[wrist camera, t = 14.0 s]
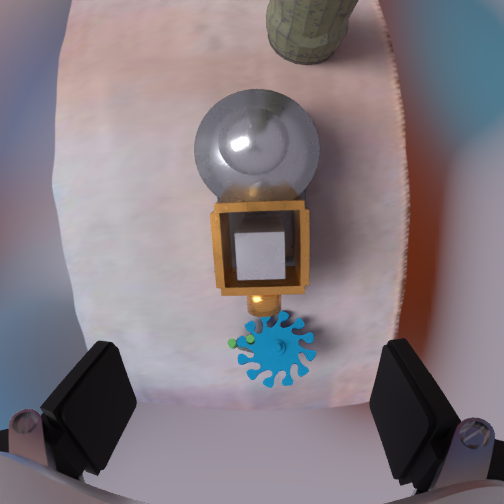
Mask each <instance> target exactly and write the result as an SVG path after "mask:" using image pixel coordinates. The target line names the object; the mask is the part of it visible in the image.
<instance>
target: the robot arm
mask: <svg viewBox="0 0 504 504" xmlns="http://www.w3.org/2000/svg"><path fill="white" fill-rule="evenodd" d="M136 404H137V401H136V397H135V394H134V392H133V389H132V387H131V384H130V381H129V378H128V376H127V373H126V370H125V367H124V364H123V361H122V358H121V355H120V352H119V349H118V348H117V347H116V346H115V345H114V344H113V343H112V342H107V341H97V342H96V343H95V344H94V345H93V346H92V348H91V349H90V350H89V351H88V352H87V353H86V354H85V356H84V357H83V358H82V359H81V360H80V361H79V362H78V363H77V364H76V366H75V367H74V368H73V369H72V370H71V371H70V372H69V374H68V375H67V376H66V377H65V379H63V381H62V382H61V383H60V384H59V385H58V386H57V388H56V389H55V390H54V391H53V392H52V394H51V395H50V396H49V397H48V398H47V400H46V401H45V402H44V403H43V404H42V406H41V407H40V408H41V410H42V411H43V414H42V415H40V414H39V413H38V412H37V411H36V410H33V409H24V410H21V411H19V412H17V413H16V414H14V416H13V417H12V418H11V420H10V422H9V429H5V430H1V431H0V504H148V503H144V502H140V501H137V500H133V499H129V498H126V497H123V496H120V495H116V494H113V493H110V492H108V491H105V490H102V489H99V488H96V487H93V486H91V485H89V484H86V483H85V481H84V478H83V474H82V473H83V471H84V470H85V471H86V472H89V473H92V474H94V475H97V476H98V475H99V473H100V471H101V470H104V469H105V467H106V465H107V463H108V461H109V459H110V457H111V455H112V453H113V451H114V449H115V447H116V445H117V443H118V441H119V439H120V437H121V435H122V433H123V431H124V429H125V427H126V425H127V423H128V421H129V419H130V417H131V416H132V414H133V412H134V409H135V408H136ZM370 410H371V413H372V415H373V418H374V421H375V424H376V426H377V429H378V432H379V435H380V438H381V441H382V444H383V447H384V450H385V453H386V456H387V459H388V463H389V466H390V469H391V472H392V475H393V478H394V479H398V480H399V483H400V485H404V484H408V483H411V482H412V483H413V486H414V488H415V490H414V492H413V494H412V495H411V497H407V498H404V499H400V500H396V501H393V502H389V503H385V504H504V441H500V440H496V439H495V433H494V430H493V427H492V426H491V425H490V424H489V423H488V422H487V421H485V420H483V419H480V418H468V419H465V420H463V421H462V422H461V420H460V419H459V417H458V415H457V414H456V412H455V411H454V409H453V407H452V406H451V404H450V403H449V401H448V400H447V398H446V396H445V395H444V393H443V392H442V390H441V389H440V387H439V386H438V384H437V383H436V381H435V380H434V378H433V377H432V375H431V374H430V373H429V372H428V370H427V368H426V367H425V366H424V364H423V363H422V361H421V360H420V358H419V357H418V355H417V354H416V353H415V351H414V350H413V348H412V347H411V346H410V344H409V343H408V341H407V340H406V339H405V338H402V339H395V340H390V341H388V343H387V345H384V346H383V349H382V353H381V358H380V362H379V367H378V371H377V375H376V379H375V383H374V387H373V390H372V394H371V397H370Z"/></svg>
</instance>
